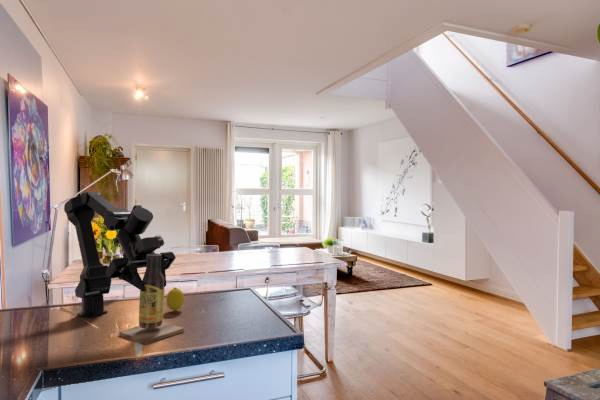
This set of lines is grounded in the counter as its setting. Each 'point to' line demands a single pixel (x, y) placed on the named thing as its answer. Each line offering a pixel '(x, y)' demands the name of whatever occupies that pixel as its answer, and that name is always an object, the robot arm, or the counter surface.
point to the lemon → (175, 299)
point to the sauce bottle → (152, 293)
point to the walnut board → (151, 333)
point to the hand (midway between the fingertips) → (154, 288)
